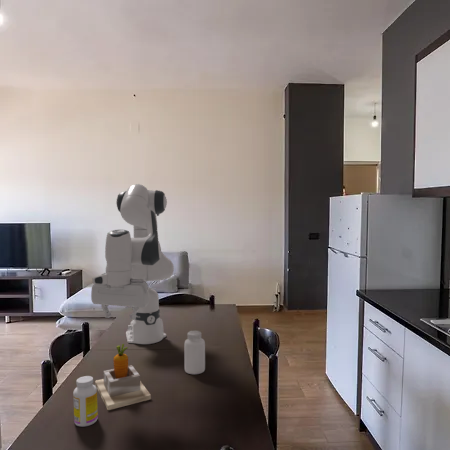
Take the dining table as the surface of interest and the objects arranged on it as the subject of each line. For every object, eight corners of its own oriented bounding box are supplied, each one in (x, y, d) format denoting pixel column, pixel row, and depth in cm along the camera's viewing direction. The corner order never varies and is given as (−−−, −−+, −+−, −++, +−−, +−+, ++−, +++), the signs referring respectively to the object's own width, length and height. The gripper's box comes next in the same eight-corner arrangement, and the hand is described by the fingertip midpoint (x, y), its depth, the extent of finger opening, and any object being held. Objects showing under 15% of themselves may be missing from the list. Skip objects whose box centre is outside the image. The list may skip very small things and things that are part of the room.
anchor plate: (95, 384, 140) (94, 367, 139) (133, 376, 146) (133, 359, 146) (107, 410, 122) (107, 390, 122) (150, 399, 129) (150, 380, 129)
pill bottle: (186, 376, 146) (186, 336, 145) (183, 367, 154) (182, 330, 153) (207, 373, 148) (206, 334, 147) (202, 365, 156) (202, 328, 155)
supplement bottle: (100, 415, 120) (99, 374, 119) (94, 427, 113) (93, 384, 112) (78, 415, 119) (77, 374, 119) (70, 428, 113) (69, 384, 112)
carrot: (122, 382, 138) (121, 340, 137) (131, 386, 135) (130, 343, 134) (111, 387, 134) (109, 344, 133) (120, 391, 131) (118, 348, 130)
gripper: (151, 277, 132) (152, 317, 133) (98, 274, 138) (99, 313, 139) (142, 281, 126) (143, 323, 127) (88, 278, 132) (89, 318, 133)
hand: (120, 318), depth 133 cm, fingers open, 8 cm apart
